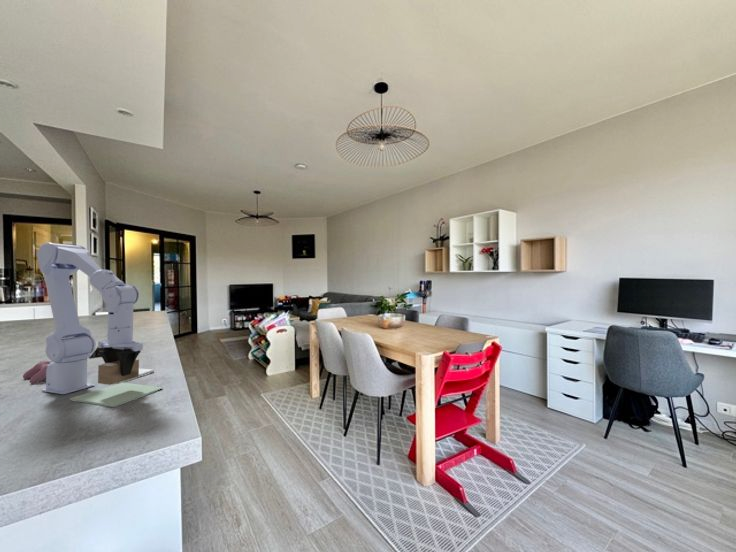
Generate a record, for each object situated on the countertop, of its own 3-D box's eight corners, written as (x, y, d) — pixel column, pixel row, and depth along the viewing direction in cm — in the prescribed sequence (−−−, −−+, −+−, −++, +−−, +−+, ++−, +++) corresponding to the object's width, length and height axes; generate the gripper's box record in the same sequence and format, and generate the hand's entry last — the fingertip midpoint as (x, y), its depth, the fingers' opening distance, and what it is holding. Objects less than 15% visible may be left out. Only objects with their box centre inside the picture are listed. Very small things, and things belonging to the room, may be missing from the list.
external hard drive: (154, 374, 111) (119, 385, 99) (135, 372, 112) (99, 383, 100) (154, 369, 111) (120, 380, 99) (135, 368, 112) (99, 378, 100)
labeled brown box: (127, 374, 94) (127, 357, 94) (138, 376, 92) (139, 358, 93) (98, 383, 86) (98, 364, 86) (110, 384, 85) (110, 365, 85)
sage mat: (70, 400, 85) (70, 398, 85) (122, 383, 98) (122, 382, 98) (113, 407, 80) (113, 405, 80) (162, 389, 94) (162, 387, 94)
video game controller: (46, 386, 100) (60, 364, 102) (28, 383, 96) (43, 361, 99) (38, 380, 105) (51, 360, 108) (20, 377, 102) (34, 356, 104)
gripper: (86, 327, 88) (85, 375, 87) (125, 330, 84) (124, 380, 84) (113, 324, 94) (112, 369, 94) (149, 326, 91) (148, 373, 90)
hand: (119, 374), depth 89 cm, fingers closed on labeled brown box, 4 cm apart
